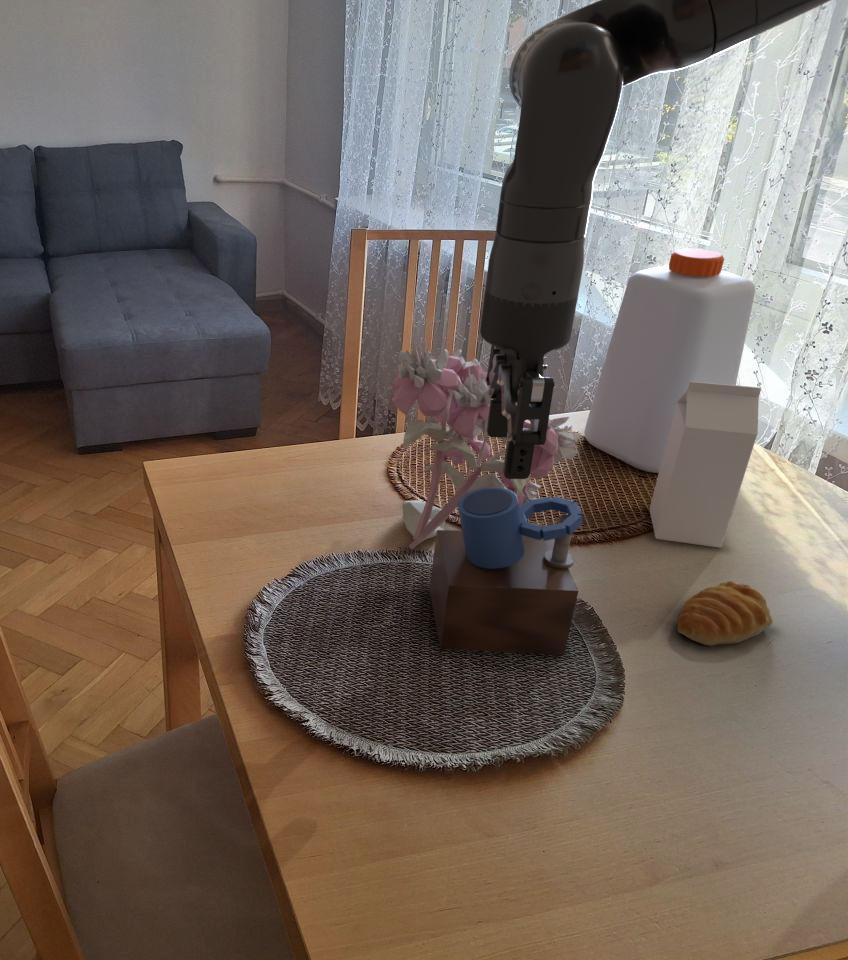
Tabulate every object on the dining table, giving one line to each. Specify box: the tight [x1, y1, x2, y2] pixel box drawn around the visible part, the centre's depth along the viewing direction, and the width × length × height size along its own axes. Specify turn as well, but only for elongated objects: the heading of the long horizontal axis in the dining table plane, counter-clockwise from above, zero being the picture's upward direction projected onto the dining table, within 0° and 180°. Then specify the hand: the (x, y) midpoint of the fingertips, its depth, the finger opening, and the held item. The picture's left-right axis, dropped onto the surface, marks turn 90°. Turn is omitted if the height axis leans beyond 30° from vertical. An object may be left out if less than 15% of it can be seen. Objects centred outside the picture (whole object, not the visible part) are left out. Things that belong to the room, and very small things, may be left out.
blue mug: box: [457, 487, 584, 569], centre depth 84 cm, size 11×6×6 cm, turn 83°
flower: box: [391, 340, 583, 550], centre depth 102 cm, size 20×22×25 cm
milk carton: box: [649, 381, 762, 549], centre depth 100 cm, size 7×7×19 cm
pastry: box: [677, 580, 774, 647], centre depth 87 cm, size 9×7×4 cm
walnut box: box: [429, 514, 579, 656], centre depth 87 cm, size 13×10×13 cm
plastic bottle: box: [583, 247, 756, 474], centre depth 116 cm, size 15×15×28 cm
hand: (506, 455), depth 81 cm, fingers open, 8 cm apart
